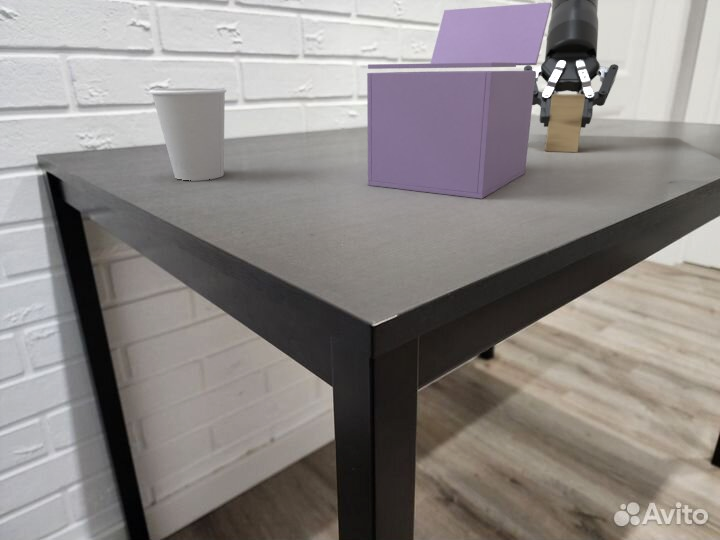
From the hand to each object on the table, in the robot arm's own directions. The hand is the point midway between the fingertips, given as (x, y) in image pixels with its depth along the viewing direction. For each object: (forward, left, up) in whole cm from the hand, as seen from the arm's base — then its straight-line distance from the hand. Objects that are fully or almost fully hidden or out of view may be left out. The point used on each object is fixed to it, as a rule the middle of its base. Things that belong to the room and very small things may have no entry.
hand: (565, 123), depth 76 cm
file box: (+27, -6, -4) cm, 28 cm away
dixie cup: (+40, -33, -4) cm, 52 cm away
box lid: (+18, -6, +11) cm, 22 cm away
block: (-2, 0, -4) cm, 4 cm away
